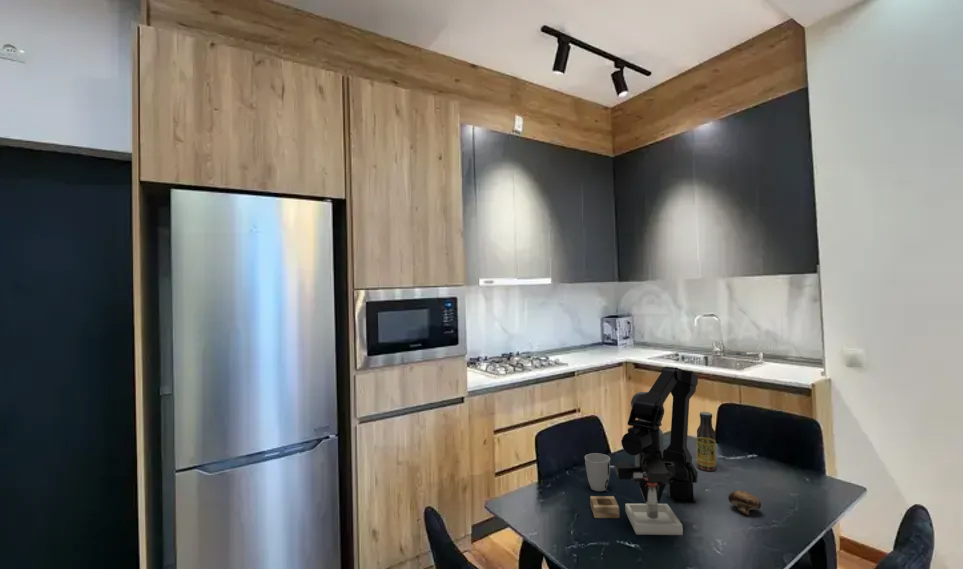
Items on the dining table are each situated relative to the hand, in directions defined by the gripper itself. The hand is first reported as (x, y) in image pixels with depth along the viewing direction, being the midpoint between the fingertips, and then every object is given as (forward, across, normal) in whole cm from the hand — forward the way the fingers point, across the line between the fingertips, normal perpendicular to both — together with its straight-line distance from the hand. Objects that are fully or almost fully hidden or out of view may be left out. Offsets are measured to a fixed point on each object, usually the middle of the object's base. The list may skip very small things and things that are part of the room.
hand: (651, 501), depth 123 cm
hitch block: (+6, -12, +6) cm, 15 cm away
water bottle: (+6, +9, +35) cm, 37 cm away
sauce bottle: (+6, +30, +38) cm, 49 cm away
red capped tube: (+4, 0, 0) cm, 4 cm away
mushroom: (+6, +28, +7) cm, 30 cm away
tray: (+6, 0, 0) cm, 6 cm away
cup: (+6, -11, +22) cm, 25 cm away
